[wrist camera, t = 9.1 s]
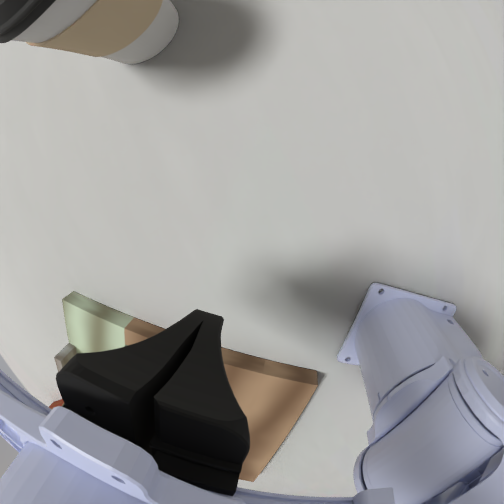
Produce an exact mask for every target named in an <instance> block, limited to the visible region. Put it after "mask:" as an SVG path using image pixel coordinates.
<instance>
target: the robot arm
mask: <svg viewBox="0 0 504 504" xmlns="http://www.w3.org/2000/svg"><path fill="white" fill-rule="evenodd" d="M380 289H383V291H382V292H379V290H380ZM444 306H445V308H444V309H443V307H444ZM455 311H456V306H455V305H454V304H452V303H448V302H445V301H441V300H438V299H434V298H430V297H427V296H423V295H420V294H416V293H413V292H409V291H405V290H402V289H398V288H395V287H391V286H387V285H384V284H380V283H373V284H371V286H370V287H369V289H368V292H367V294H366V296H365V299H364V301H363V303H362V305H361V308H360V310H359V312H358V314H357V316H356V319H355V321H354V323H353V325H352V327H351V329H350V331H349V333H348V335H347V337H346V339H345V341H344V343H343V345H342V347H341V349H340V351H339V353H338V355H337V360H338V361H339V362H342V363H347V364H353V365H359V366H360V368H361V372H362V376H363V380H364V384H365V388H366V392H367V397H368V401H369V405H370V410H371V414H372V419H373V425H372V427H371V428H370V429H369V430H368V431H367V437H368V443H369V446H368V447H366V448H365V449H364V450H363V451H362V452H361V453H360V454H359V456H358V457H357V459H356V462H355V465H354V474H353V476H354V483H355V487H356V490H357V492H358V494H356V495H355V496H354V497H308V496H294V495H284V494H275V493H268V492H261V491H255V490H249V489H243V488H238V487H237V484H238V479H239V474H240V473H241V470H242V465H243V462H244V460H245V458H246V456H247V455H248V453H249V450H250V433H249V427H248V421H247V417H246V415H245V414H244V412H243V411H242V409H241V407H240V406H239V404H238V402H237V400H236V398H235V396H234V394H233V391H232V389H231V386H230V384H229V381H228V378H227V375H226V371H225V367H224V363H223V358H222V351H221V330H222V325H223V321H224V319H223V317H222V316H218V315H214V314H211V313H208V312H204V311H201V310H197V309H196V310H194V311H193V312H191V313H190V314H189V315H187V316H186V317H184V318H183V319H181V320H180V321H178V322H177V323H175V324H174V325H172V326H170V327H169V328H167V329H165V330H164V331H162V332H160V333H158V334H156V335H154V336H152V337H150V338H148V339H145V340H143V341H140V342H138V343H135V344H131V345H128V346H125V347H121V348H117V349H112V350H107V351H101V352H91V353H77V354H76V355H75V356H73V357H72V358H71V359H70V360H69V361H68V362H67V363H66V365H65V366H64V367H63V368H62V369H61V370H60V371H59V372H58V373H57V375H56V381H57V385H58V388H59V391H60V393H61V396H62V399H63V401H64V406H63V407H62V406H58V407H54V408H53V409H50V408H49V407H47V406H46V405H44V404H43V403H42V402H40V401H39V400H37V399H36V398H35V397H33V396H32V395H31V394H29V393H28V392H27V391H25V390H24V389H23V388H22V387H20V386H19V385H18V384H17V383H16V382H14V381H13V380H12V379H11V378H10V377H8V376H7V375H6V374H5V373H4V372H3V371H1V369H0V435H1V436H2V437H3V438H4V439H5V440H6V441H7V442H8V443H9V444H10V445H11V446H12V447H13V448H14V449H16V450H17V451H18V452H19V454H18V455H17V457H16V458H15V459H14V461H13V462H12V463H11V465H10V466H9V467H8V469H7V470H6V472H5V473H4V474H3V476H2V477H1V479H0V504H504V376H503V375H502V374H501V373H500V372H499V371H498V370H497V369H496V368H495V367H494V366H493V365H491V364H490V363H489V362H487V361H486V360H484V359H483V358H482V355H481V353H480V351H479V350H478V348H477V347H476V346H475V344H474V343H473V342H472V340H471V339H470V338H469V337H468V335H467V334H466V333H465V331H464V330H463V329H462V328H461V326H460V325H459V324H458V323H457V322H456V320H455V319H454V318H453V315H454V313H455ZM347 357H350V358H348V359H346V358H347Z"/></svg>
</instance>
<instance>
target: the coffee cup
mask: <svg viewBox="0 0 504 504" xmlns="http://www.w3.org/2000/svg"><path fill="white" fill-rule="evenodd" d="M178 24H179V15H178V12H177V10H176V8H175V7H174V5H173V4H172V2H171V1H170V0H0V43H6V42H8V41H10V40H14V41H23V42H26V43H27V44H29V45H31V46H38V47H46V48H52V49H58V50H64V51H70V52H75V53H80V54H84V55H89V56H94V57H104V58H107V59H111V60H114V61H118V62H121V63H125V64H137V63H141V62H144V61H146V60H149V59H151V58H152V57H154V56H156V55H157V54H158V53H160V52H161V51H162V50H163V49H164V48H165V47H166V46H167V45H168V44H169V43H170V41H171V40H172V39H173V37H174V35H175V33H176V31H177V28H178Z"/></svg>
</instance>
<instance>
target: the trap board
mask: <svg viewBox="0 0 504 504" xmlns="http://www.w3.org/2000/svg"><path fill="white" fill-rule="evenodd" d="M62 302H63V310H64V317H65V323H66V329H67V335H68V340H69V344H67V345H66V346H65V347H64V348H63V349H62V350H61V351H60V352H59V353H58V354H57V355H56V356H55V357H54V358H55V362H56V365H57V369H58V372H59V371H60V370H61V369H62V368H63V367H64V366H65V365H66V363H67V362H68V361H69V360H70V359H71V358H72V357H73V356H75V355H76V354H77V353H91V352H101V351H107V350H112V349H117V348H121V347H125V346H128V345H131V344H135V343H138V342H140V341H143V340H145V339H148V338H150V337H152V336H154V335H156V334H158V333H160V332H162V331H164V330H165V329H164V328H161V327H158V326H155V325H153V324H150V323H147V322H145V321H142V320H139V319H137V318H134V317H132V316H129V315H127V314H124V313H122V312H119V311H117V310H114V309H112V308H110V307H107V306H105V305H103V304H100V303H98V302H96V301H93V300H91V299H89V298H87V297H85V296H82V295H80V294H78V293H76V292H74V291H73V292H72V293H70V294H69V295H68V296H66V297H65V298H63V299H62ZM221 351H222V358H223V363H224V367H225V371H226V375H227V378H228V381H229V384H230V386H231V389H232V391H233V394H234V396H235V398H236V400H237V402H238V404H239V406H240V407H241V409H242V411H243V412H244V414H245V415H246V417H247V421H248V427H249V433H250V450H249V453H248V455H247V456H246V458H245V460H244V462H243V465H242V470H241V473H240V474H239V479H241V480H246V481H251V482H254V480H255V479H256V478H257V477H258V475H259V474H260V473H261V471H262V470H263V469H264V467H265V466H266V465H267V463H268V462H269V460H270V459H271V458H272V456H273V455H274V454H275V452H276V451H277V449H278V448H279V446H280V445H281V444H282V442H283V441H284V439H285V438H286V436H287V435H288V433H289V432H290V430H291V429H292V427H293V426H294V424H295V422H296V421H297V419H298V418H299V416H300V415H301V413H302V411H303V410H304V408H305V406H306V405H307V403H308V401H309V400H310V398H311V396H312V395H313V393H314V391H315V390H316V388H317V386H318V381H317V371H315V370H310V369H305V368H301V367H296V366H292V365H287V364H283V363H278V362H274V361H270V360H266V359H262V358H258V357H254V356H251V355H247V354H243V353H239V352H236V351H232V350H229V349H225V348H222V347H221Z"/></svg>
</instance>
